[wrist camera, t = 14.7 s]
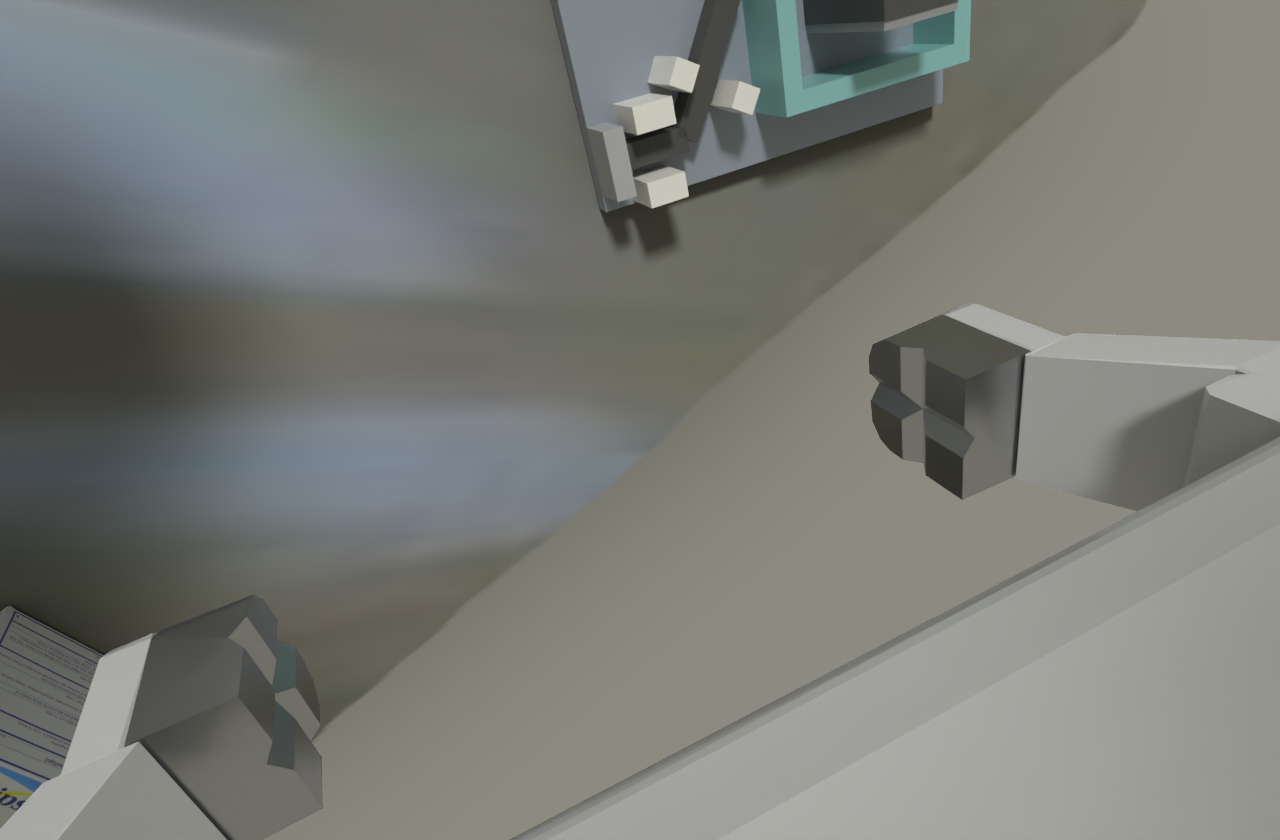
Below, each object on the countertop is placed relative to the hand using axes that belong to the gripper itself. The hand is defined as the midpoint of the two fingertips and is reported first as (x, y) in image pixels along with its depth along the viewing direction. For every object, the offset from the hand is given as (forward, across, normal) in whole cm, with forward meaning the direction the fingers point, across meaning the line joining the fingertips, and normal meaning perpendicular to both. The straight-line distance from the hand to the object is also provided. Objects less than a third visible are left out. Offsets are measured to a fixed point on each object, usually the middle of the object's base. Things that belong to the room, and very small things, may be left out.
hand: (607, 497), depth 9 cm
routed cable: (+28, -14, -1) cm, 31 cm away
